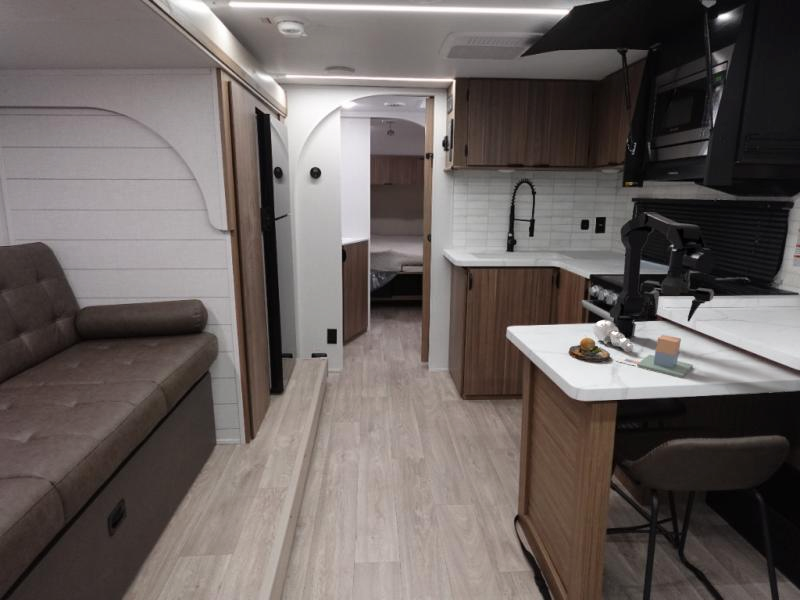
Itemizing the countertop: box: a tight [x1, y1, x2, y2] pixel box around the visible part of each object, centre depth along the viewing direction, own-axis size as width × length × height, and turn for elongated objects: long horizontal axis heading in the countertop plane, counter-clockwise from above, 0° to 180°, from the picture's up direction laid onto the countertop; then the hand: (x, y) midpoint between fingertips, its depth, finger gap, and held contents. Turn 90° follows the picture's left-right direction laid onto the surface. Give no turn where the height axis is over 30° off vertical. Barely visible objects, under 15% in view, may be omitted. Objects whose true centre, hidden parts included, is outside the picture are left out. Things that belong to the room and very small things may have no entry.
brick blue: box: [654, 351, 680, 369], centre depth 145 cm, size 5×5×4 cm
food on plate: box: [568, 334, 611, 364], centre depth 153 cm, size 12×12×8 cm
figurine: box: [593, 319, 634, 352], centre depth 164 cm, size 11×7×15 cm
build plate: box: [637, 354, 694, 379], centre depth 146 cm, size 12×12×1 cm
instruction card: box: [616, 356, 644, 369], centre depth 149 cm, size 8×6×1 cm
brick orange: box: [655, 334, 682, 355], centre depth 144 cm, size 5×5×4 cm
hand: (671, 318), depth 150 cm, fingers open, 9 cm apart
